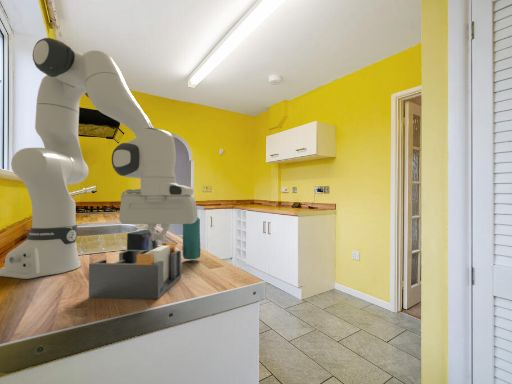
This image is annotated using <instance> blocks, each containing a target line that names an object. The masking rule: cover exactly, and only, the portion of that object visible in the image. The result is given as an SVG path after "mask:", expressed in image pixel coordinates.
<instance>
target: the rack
mask: <svg viewBox="0 0 512 384" xmlns="http://www.w3.org/2000/svg"><path fill="white" fill-rule="evenodd" d="M162 245H163V246H170V277H169V278H168V279H167V280H166V281H164V282H163V261H158V262H156V263H155V264H153V254H145V253H147V252H149V251H151V250H127V249H125V250H123V251H121V252H119V253H118V258H119V259H118V261H116V262H111V263H110V262H107V259H100V260H98V261H95V262H91V263H89V264H88V298H91V299H93V298H94V299H95V298H96V299H129V300H131V299H135V300H139V299H141V300H159V299H160V298H161V297H162V296H163V295H164V294H165V293H166V292H167V291H169V290H170V289H171V287H173V286H174V285H175V284H176V283H177V282H178V281H179V280H180V279H181V278H182V250H176V242H169V241H167V242H165V241H164V242H163V241H162V244H161V246H162Z"/></svg>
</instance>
